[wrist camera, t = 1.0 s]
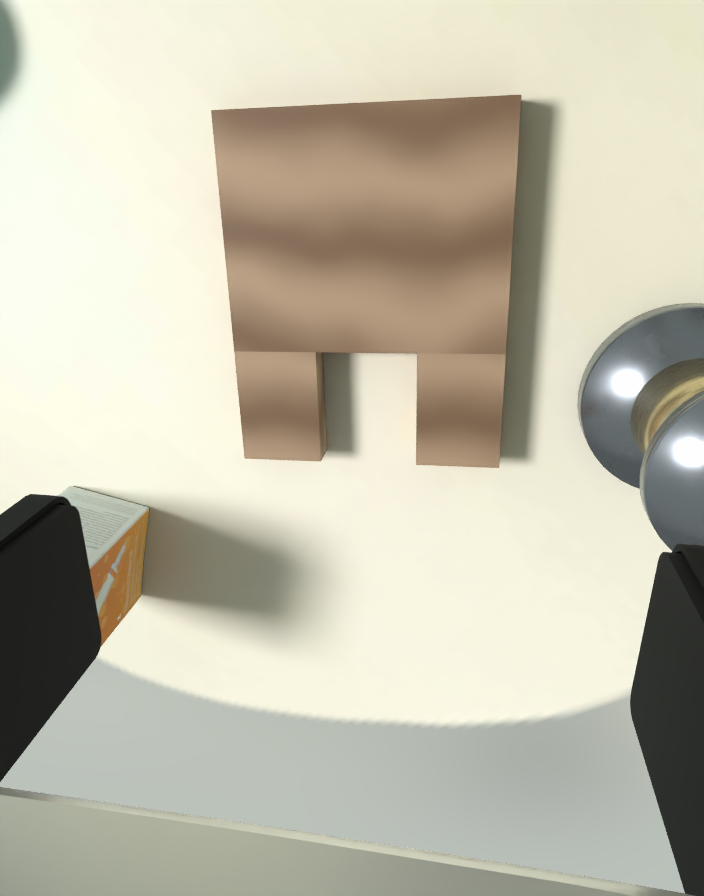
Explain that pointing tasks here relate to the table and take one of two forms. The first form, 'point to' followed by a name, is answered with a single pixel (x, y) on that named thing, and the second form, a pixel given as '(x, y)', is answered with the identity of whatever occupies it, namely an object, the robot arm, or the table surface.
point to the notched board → (370, 262)
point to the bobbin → (652, 415)
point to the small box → (112, 551)
